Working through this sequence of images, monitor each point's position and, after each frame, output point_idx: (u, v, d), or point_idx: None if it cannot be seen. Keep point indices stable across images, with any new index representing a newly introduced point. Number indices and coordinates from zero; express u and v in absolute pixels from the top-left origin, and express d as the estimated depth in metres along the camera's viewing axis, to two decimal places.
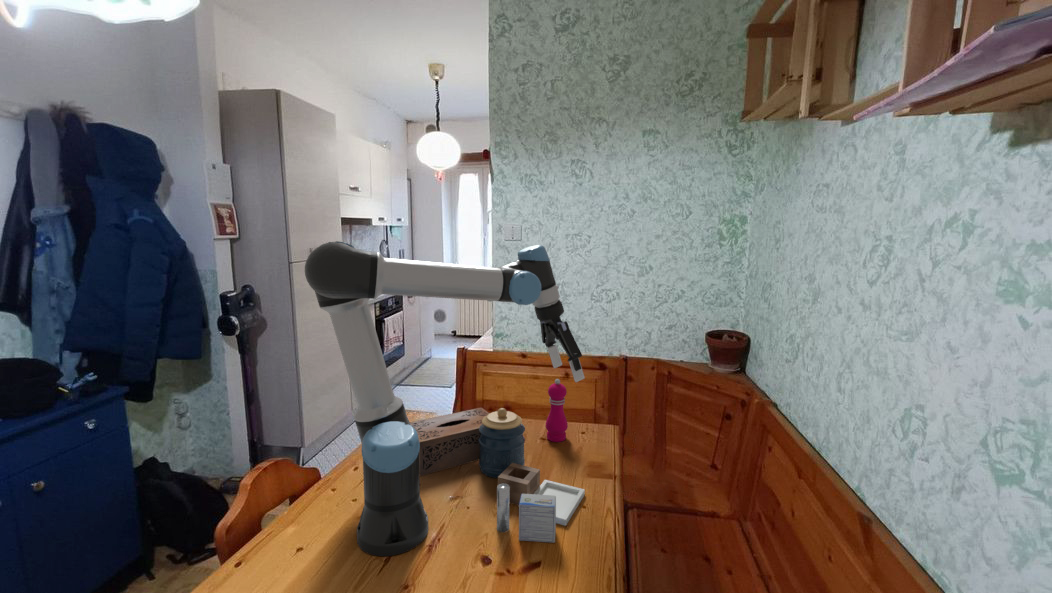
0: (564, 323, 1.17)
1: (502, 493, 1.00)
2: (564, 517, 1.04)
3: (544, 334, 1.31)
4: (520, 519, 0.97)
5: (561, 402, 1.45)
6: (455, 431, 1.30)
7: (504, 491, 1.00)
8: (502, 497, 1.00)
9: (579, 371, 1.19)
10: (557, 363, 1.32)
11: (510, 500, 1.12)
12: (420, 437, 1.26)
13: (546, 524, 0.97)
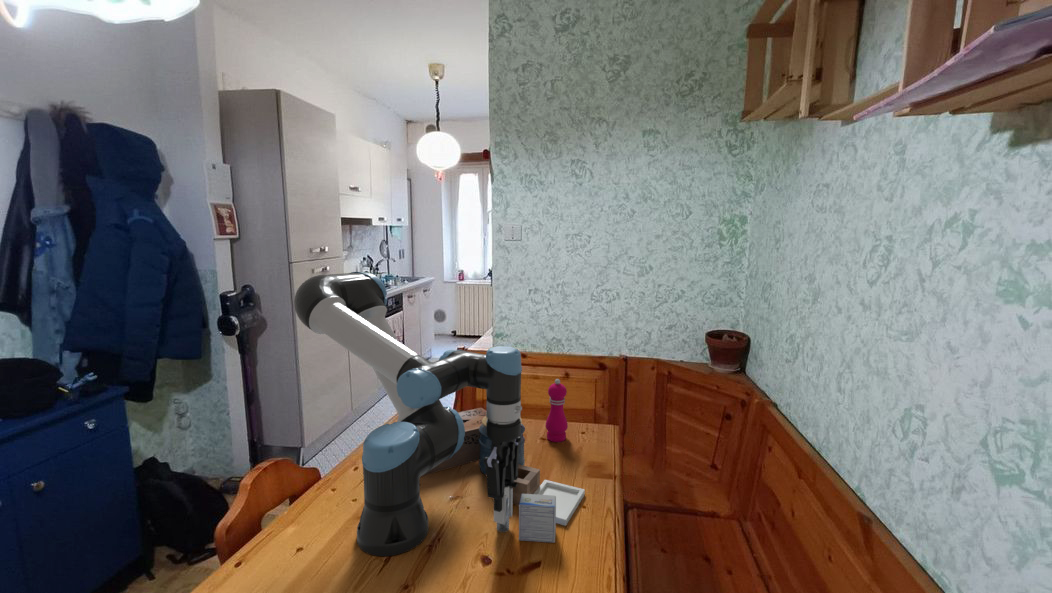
0: (490, 462, 0.94)
1: None
2: (564, 517, 1.04)
3: None
4: (520, 519, 0.97)
5: (561, 402, 1.45)
6: None
7: (504, 490, 1.00)
8: None
9: (500, 513, 1.00)
10: None
11: None
12: None
13: (546, 524, 0.97)
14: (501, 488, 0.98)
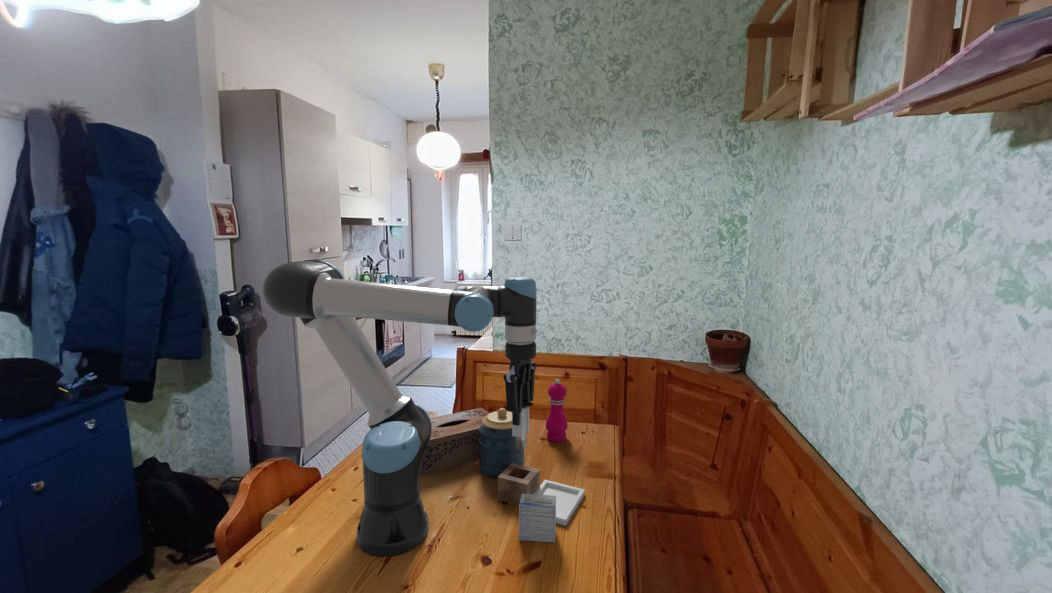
0: (509, 377, 1.05)
1: None
2: (564, 517, 1.04)
3: None
4: (520, 519, 0.97)
5: (561, 402, 1.45)
6: (455, 431, 1.30)
7: (521, 410, 1.10)
8: None
9: (518, 427, 1.10)
10: None
11: (510, 500, 1.12)
12: None
13: (546, 524, 0.97)
14: (519, 403, 1.09)
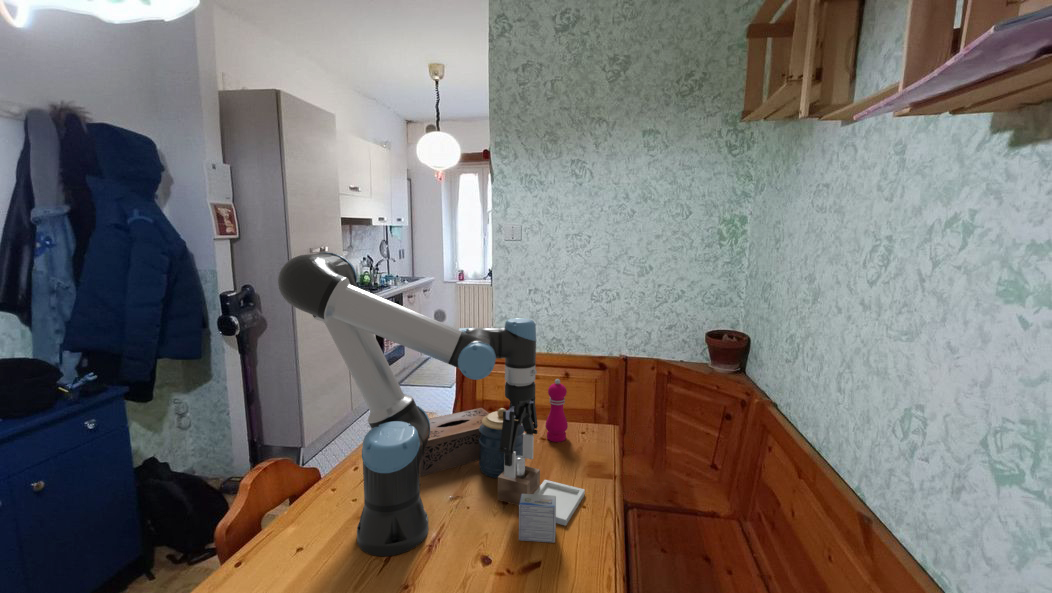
0: (509, 413, 1.06)
1: (518, 463, 1.13)
2: (564, 517, 1.04)
3: None
4: (520, 519, 0.97)
5: (561, 402, 1.45)
6: (455, 431, 1.30)
7: (520, 461, 1.13)
8: (518, 466, 1.13)
9: (510, 468, 1.09)
10: (527, 454, 1.19)
11: (510, 500, 1.12)
12: None
13: (546, 524, 0.97)
14: (512, 443, 1.08)
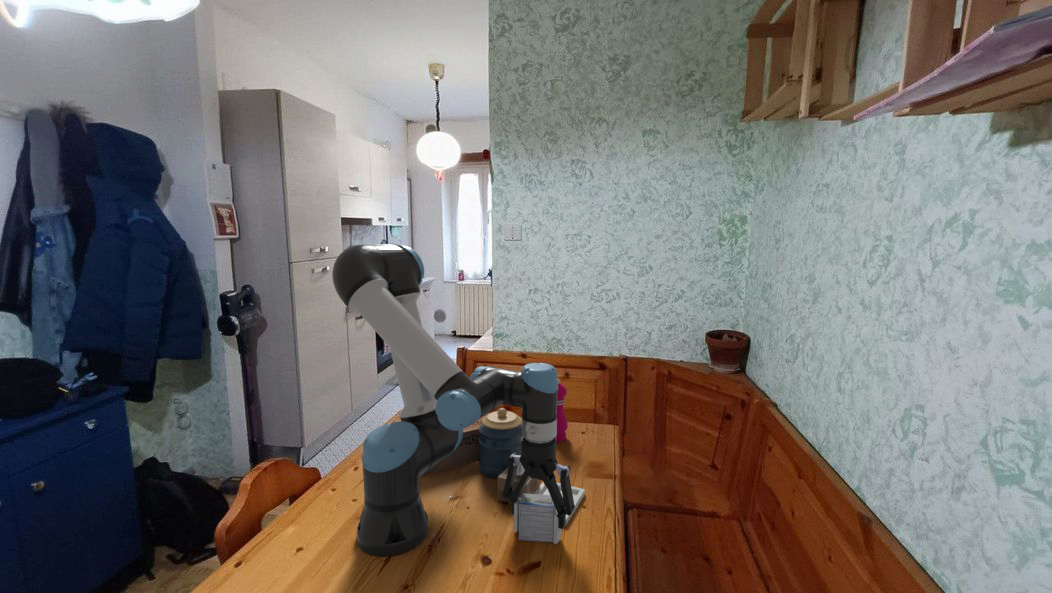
0: None
1: None
2: None
3: None
4: (520, 519, 0.97)
5: (561, 402, 1.45)
6: None
7: None
8: (518, 466, 1.13)
9: None
10: None
11: None
12: None
13: (546, 524, 0.97)
14: None
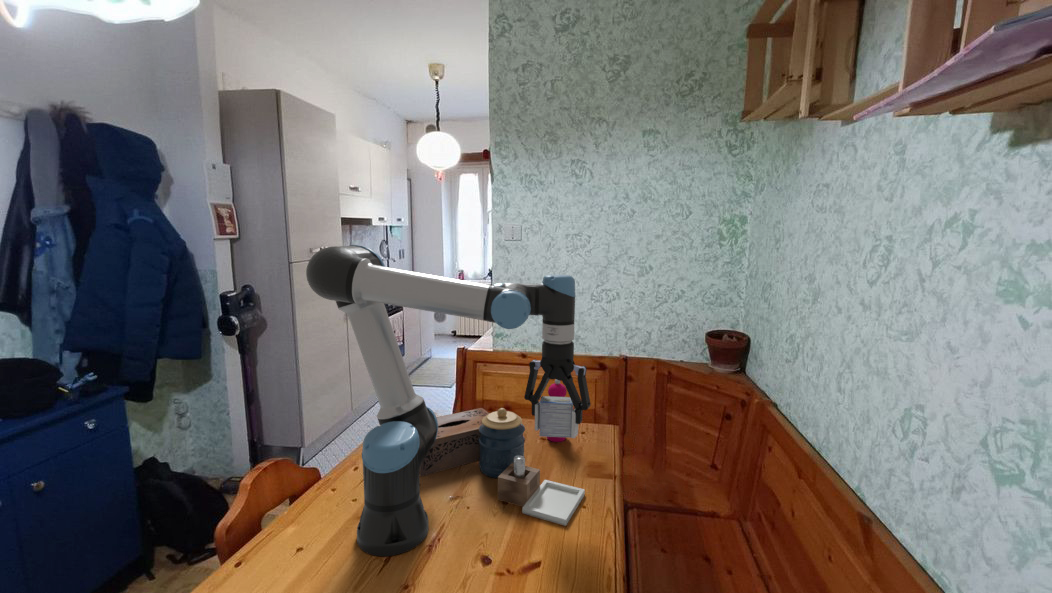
0: None
1: (518, 463, 1.13)
2: (564, 517, 1.04)
3: None
4: (541, 416, 1.07)
5: None
6: (456, 431, 1.30)
7: (520, 461, 1.13)
8: (518, 466, 1.13)
9: None
10: None
11: (510, 500, 1.12)
12: None
13: (564, 420, 1.07)
14: None
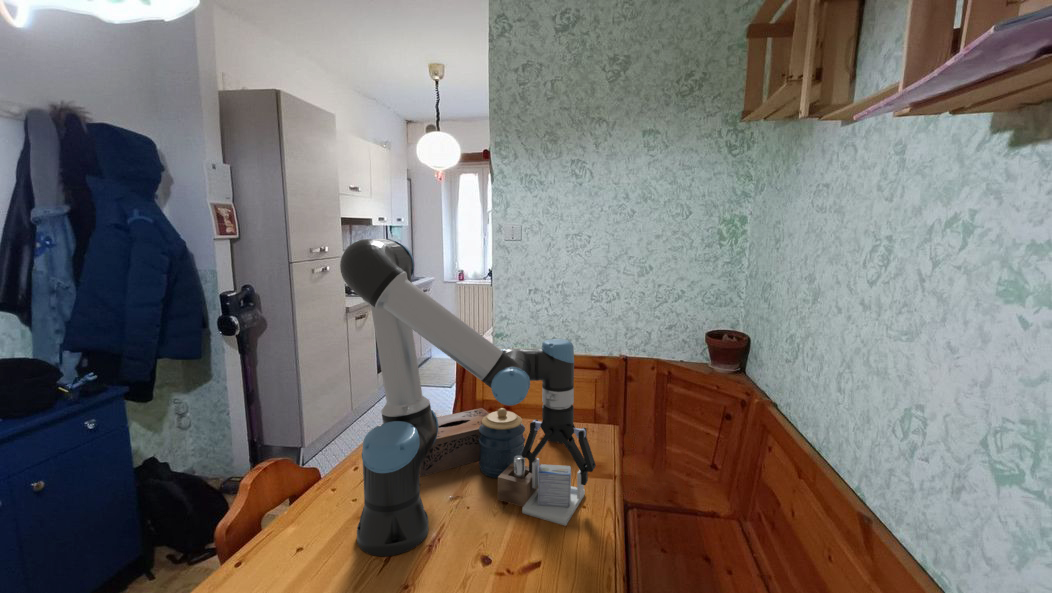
0: (531, 422, 1.12)
1: (518, 463, 1.13)
2: (564, 517, 1.04)
3: None
4: (539, 486, 1.10)
5: None
6: (456, 432, 1.30)
7: (520, 461, 1.13)
8: (518, 466, 1.13)
9: None
10: None
11: (510, 500, 1.12)
12: None
13: (562, 490, 1.09)
14: (532, 453, 1.12)
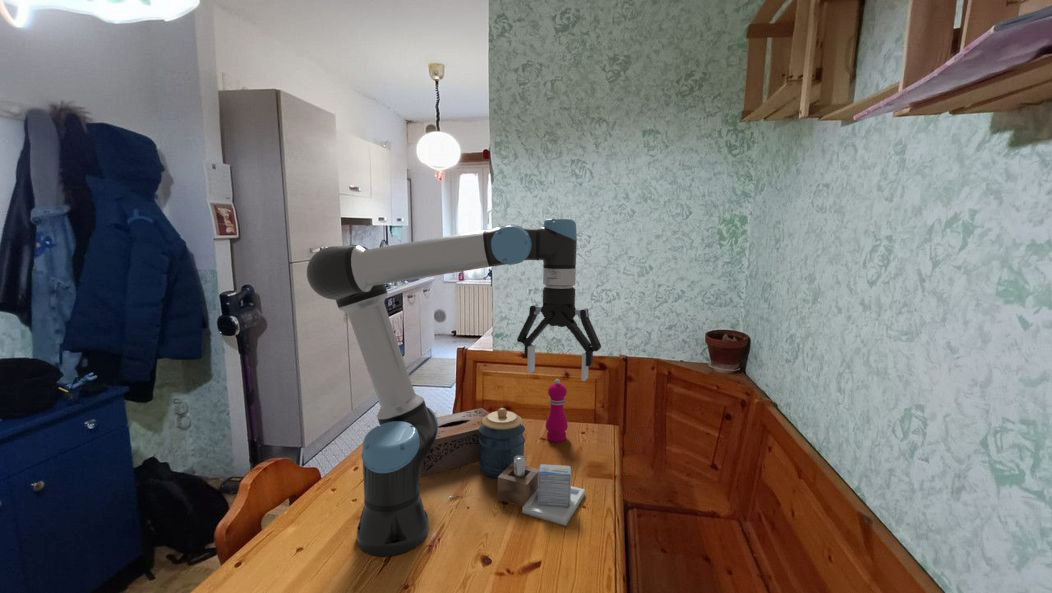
0: None
1: (518, 463, 1.13)
2: (564, 517, 1.04)
3: None
4: (539, 486, 1.10)
5: (561, 402, 1.45)
6: (456, 432, 1.30)
7: (520, 461, 1.13)
8: (518, 466, 1.13)
9: None
10: None
11: (510, 500, 1.12)
12: None
13: (562, 490, 1.09)
14: None
